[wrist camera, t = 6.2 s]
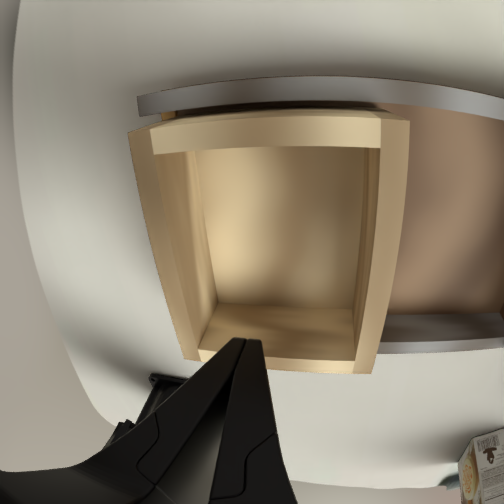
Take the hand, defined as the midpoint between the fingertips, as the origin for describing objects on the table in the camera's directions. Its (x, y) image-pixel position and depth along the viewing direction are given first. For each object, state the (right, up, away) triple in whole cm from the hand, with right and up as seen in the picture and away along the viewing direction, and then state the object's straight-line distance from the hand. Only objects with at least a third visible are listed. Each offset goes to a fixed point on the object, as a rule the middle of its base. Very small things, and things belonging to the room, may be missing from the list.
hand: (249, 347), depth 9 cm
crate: (+2, +4, +8) cm, 9 cm away
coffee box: (+31, -23, +19) cm, 44 cm away
